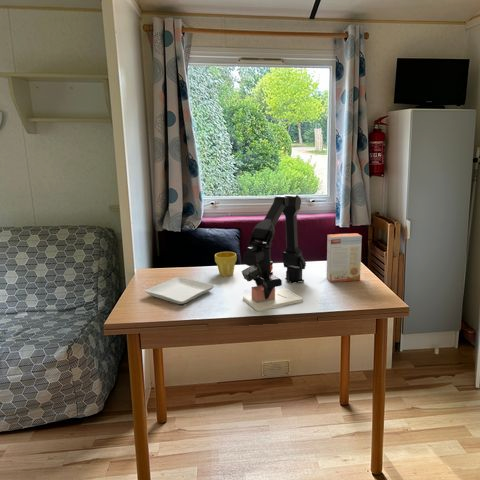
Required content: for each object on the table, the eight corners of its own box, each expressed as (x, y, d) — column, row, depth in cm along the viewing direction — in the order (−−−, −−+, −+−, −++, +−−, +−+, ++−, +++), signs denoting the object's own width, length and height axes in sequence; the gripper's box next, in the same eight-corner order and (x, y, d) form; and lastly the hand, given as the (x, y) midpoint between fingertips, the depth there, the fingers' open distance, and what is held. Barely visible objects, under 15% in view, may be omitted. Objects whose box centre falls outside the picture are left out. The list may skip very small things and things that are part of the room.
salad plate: (216, 291, 171) (215, 284, 170) (182, 309, 154) (182, 301, 153) (179, 282, 182) (178, 275, 181) (144, 298, 165) (143, 290, 164)
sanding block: (269, 295, 161) (269, 283, 160) (274, 299, 157) (274, 287, 156) (251, 298, 158) (251, 287, 157) (256, 303, 154) (256, 290, 153)
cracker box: (355, 276, 184) (357, 232, 179) (360, 281, 179) (362, 235, 173) (325, 278, 183) (327, 233, 178) (329, 282, 178) (331, 236, 173)
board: (285, 290, 169) (285, 288, 169) (302, 301, 158) (302, 298, 157) (242, 299, 161) (242, 296, 161) (257, 311, 150) (257, 308, 149)
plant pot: (211, 276, 189) (210, 256, 187) (220, 269, 198) (220, 250, 196) (231, 278, 185) (231, 258, 183) (240, 271, 194) (239, 252, 192)
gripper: (234, 255, 158) (235, 292, 162) (255, 269, 142) (255, 309, 146) (259, 251, 163) (259, 287, 167) (282, 264, 146) (282, 303, 150)
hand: (263, 296), depth 157 cm, fingers closed on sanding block, 4 cm apart
